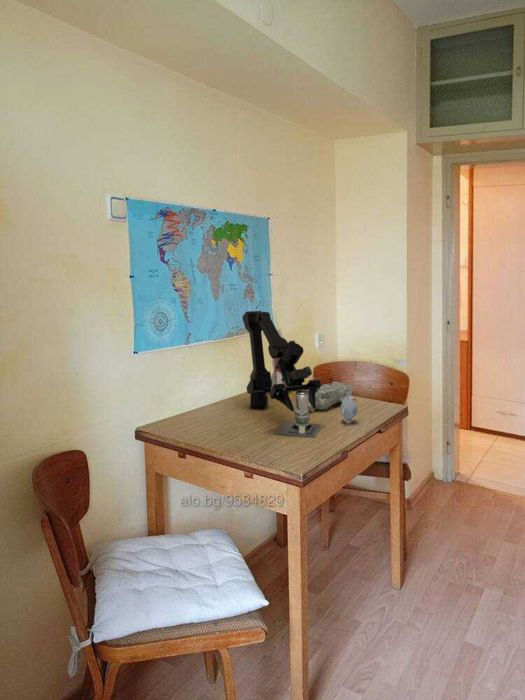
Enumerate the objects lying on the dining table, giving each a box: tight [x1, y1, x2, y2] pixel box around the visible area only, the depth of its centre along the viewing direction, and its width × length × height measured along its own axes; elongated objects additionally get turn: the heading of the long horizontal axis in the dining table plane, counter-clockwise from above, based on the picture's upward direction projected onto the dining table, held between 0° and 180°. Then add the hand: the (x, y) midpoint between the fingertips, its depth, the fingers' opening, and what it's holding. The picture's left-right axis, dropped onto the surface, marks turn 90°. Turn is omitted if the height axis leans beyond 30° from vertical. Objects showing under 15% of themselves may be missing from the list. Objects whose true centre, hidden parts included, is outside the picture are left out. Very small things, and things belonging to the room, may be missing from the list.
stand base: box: [274, 421, 322, 439], centre depth 187 cm, size 14×12×4 cm
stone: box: [308, 381, 356, 413], centre depth 219 cm, size 12×10×30 cm
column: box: [293, 390, 310, 430], centre depth 184 cm, size 5×5×13 cm
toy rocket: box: [267, 328, 294, 398], centre depth 233 cm, size 12×12×30 cm
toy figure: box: [339, 390, 358, 425], centre depth 196 cm, size 11×6×12 cm, turn 144°
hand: (304, 409), depth 183 cm, fingers open, 8 cm apart
